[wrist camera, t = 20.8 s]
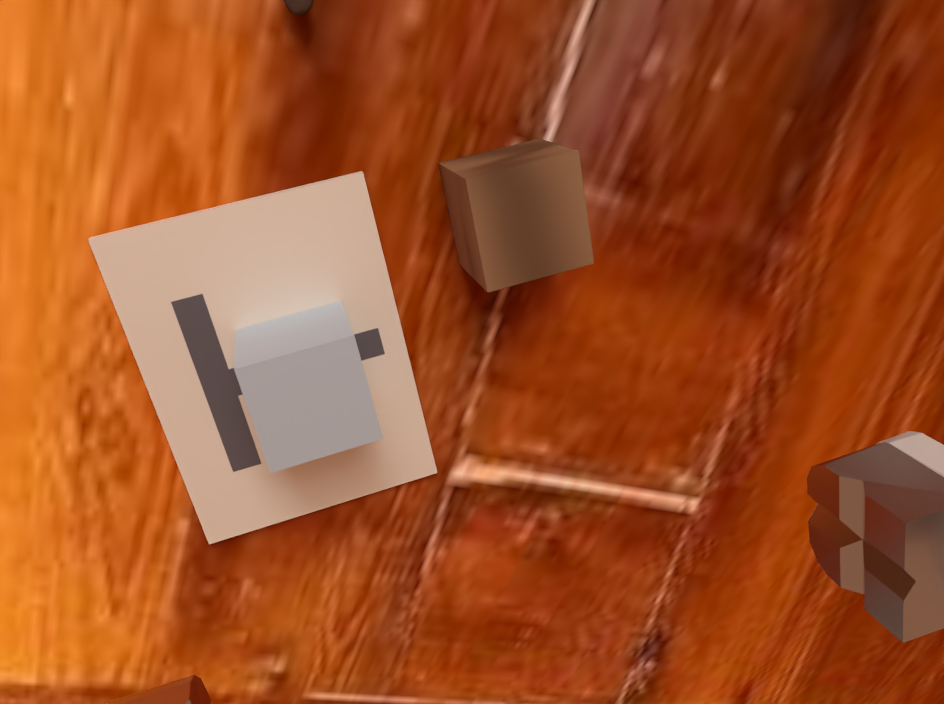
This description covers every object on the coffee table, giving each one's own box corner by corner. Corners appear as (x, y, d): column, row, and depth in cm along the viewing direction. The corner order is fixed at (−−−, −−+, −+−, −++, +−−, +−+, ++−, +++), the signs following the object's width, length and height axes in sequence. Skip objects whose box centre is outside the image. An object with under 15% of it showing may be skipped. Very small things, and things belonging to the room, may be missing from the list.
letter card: (361, 171, 36) (363, 172, 36) (435, 468, 43) (437, 472, 42) (90, 237, 34) (87, 239, 34) (209, 539, 41) (208, 544, 40)
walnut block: (538, 138, 38) (578, 150, 34) (554, 238, 40) (594, 263, 36) (438, 163, 37) (465, 178, 33) (459, 264, 39) (487, 292, 35)
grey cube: (341, 300, 38) (354, 335, 33) (367, 394, 40) (383, 438, 35) (235, 330, 37) (233, 369, 32) (267, 423, 39) (270, 473, 34)
